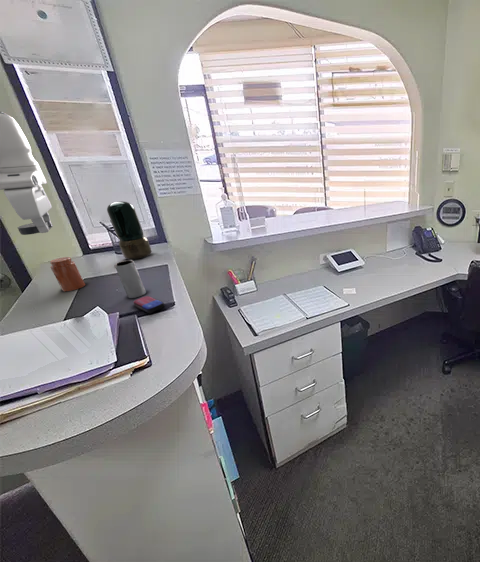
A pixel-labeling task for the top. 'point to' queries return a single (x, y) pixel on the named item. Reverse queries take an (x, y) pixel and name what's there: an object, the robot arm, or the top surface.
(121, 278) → the planter
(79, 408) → the top surface
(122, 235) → the lamp
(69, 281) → the jar
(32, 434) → the top surface
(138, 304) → the eraser
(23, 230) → the jar lid
